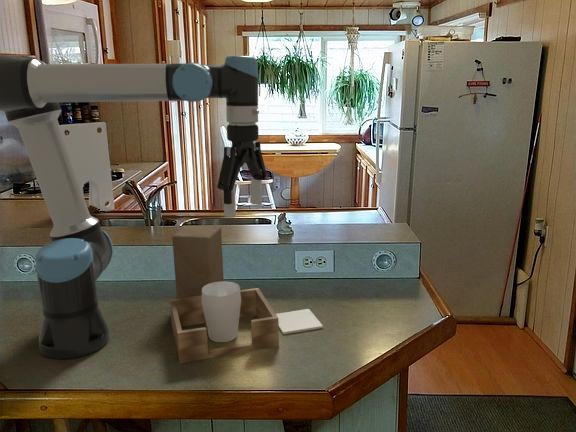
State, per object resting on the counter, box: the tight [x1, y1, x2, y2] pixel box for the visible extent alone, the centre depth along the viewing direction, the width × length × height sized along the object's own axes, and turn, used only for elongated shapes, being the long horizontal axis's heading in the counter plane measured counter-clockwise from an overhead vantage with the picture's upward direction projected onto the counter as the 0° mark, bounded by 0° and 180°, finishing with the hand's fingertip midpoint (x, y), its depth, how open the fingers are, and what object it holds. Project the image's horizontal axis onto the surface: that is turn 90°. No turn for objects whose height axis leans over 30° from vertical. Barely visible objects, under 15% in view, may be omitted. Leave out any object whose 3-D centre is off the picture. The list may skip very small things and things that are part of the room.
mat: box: [275, 308, 324, 335], centre depth 129 cm, size 10×10×1 cm
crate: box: [169, 287, 280, 364], centre depth 122 cm, size 22×18×7 cm
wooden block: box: [171, 225, 225, 299], centre depth 139 cm, size 10×10×20 cm
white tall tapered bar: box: [59, 121, 115, 212], centre depth 235 cm, size 20×14×40 cm
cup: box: [202, 280, 241, 343], centre depth 121 cm, size 9×9×12 cm
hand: (243, 210), depth 130 cm, fingers open, 13 cm apart
